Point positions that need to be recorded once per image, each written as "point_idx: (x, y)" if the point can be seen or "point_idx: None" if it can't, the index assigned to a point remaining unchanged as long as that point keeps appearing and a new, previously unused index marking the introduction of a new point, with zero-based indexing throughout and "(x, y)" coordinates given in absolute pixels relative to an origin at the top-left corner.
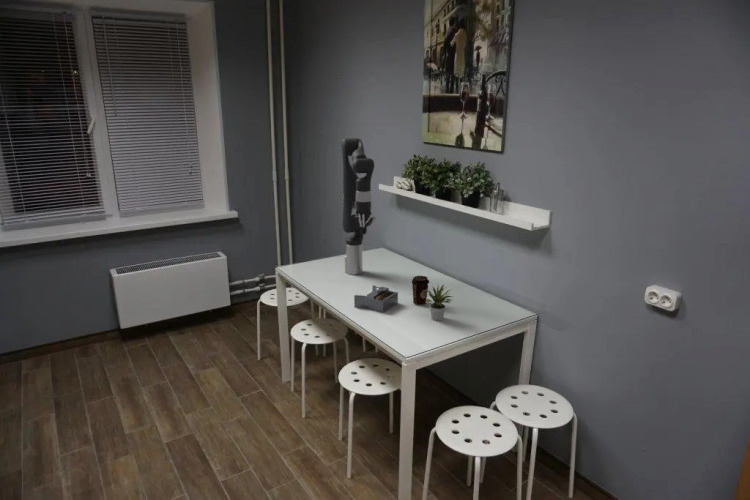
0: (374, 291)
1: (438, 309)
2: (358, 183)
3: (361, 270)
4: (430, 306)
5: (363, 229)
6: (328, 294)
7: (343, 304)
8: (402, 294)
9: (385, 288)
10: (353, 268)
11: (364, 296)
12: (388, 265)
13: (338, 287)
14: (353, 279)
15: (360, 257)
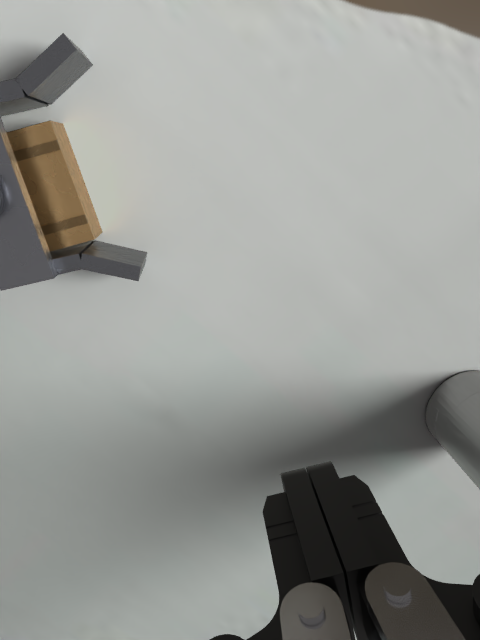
0: (6, 176)
1: None
2: None
3: (433, 430)
4: None
5: (300, 543)
6: (347, 75)
7: (160, 28)
8: (60, 382)
9: (8, 270)
10: (463, 398)
11: (12, 85)
12: None
13: (381, 200)
14: (400, 340)
15: (477, 473)
